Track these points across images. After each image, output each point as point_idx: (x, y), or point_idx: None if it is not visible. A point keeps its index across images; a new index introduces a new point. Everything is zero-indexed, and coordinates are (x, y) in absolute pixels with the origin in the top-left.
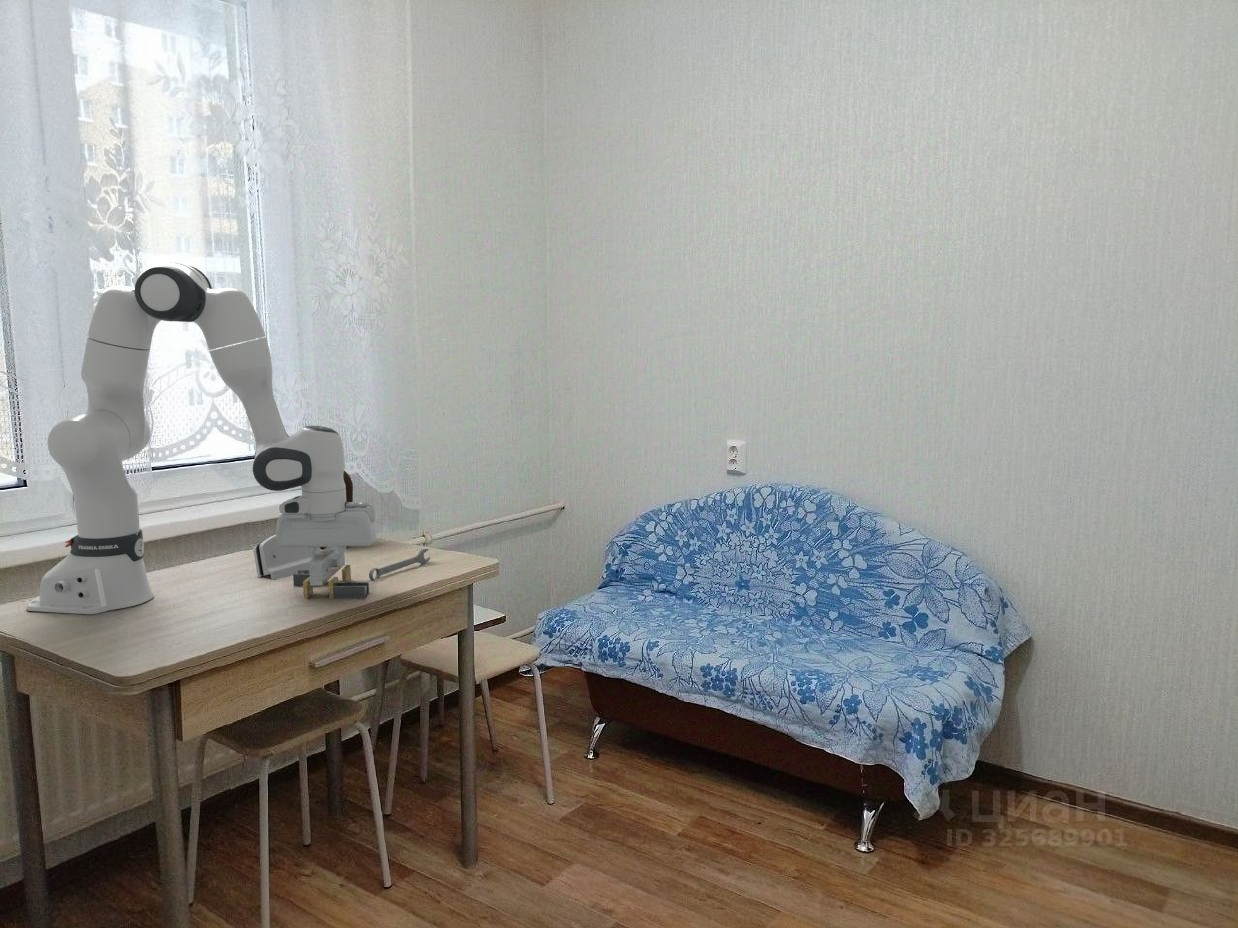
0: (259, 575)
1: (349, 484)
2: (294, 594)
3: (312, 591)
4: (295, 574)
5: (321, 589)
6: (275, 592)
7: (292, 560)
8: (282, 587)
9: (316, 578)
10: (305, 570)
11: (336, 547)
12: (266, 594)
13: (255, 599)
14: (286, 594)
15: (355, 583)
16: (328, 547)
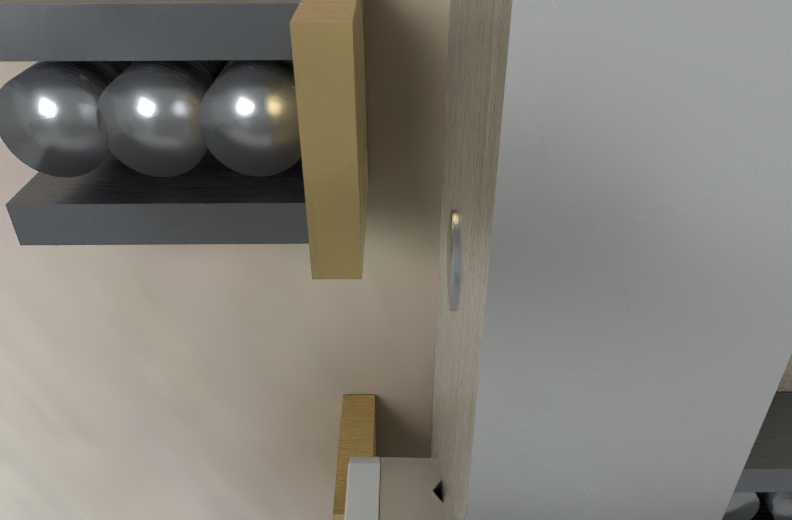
0: None
1: None
2: (234, 417)
3: (374, 424)
4: (41, 232)
5: (409, 302)
6: (44, 372)
7: None
8: (2, 239)
9: None
10: (53, 36)
11: (694, 514)
12: (8, 415)
13: (14, 504)
14: (169, 416)
15: (764, 486)
16: (515, 504)
